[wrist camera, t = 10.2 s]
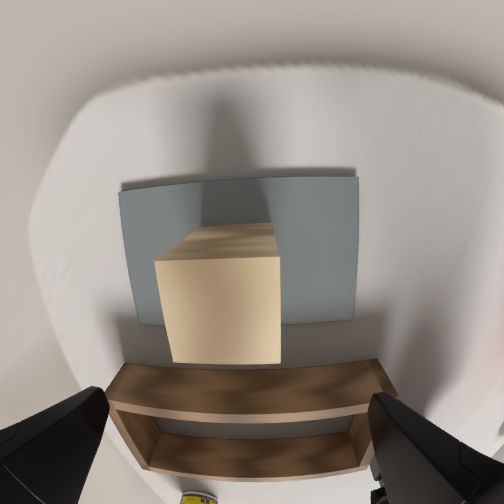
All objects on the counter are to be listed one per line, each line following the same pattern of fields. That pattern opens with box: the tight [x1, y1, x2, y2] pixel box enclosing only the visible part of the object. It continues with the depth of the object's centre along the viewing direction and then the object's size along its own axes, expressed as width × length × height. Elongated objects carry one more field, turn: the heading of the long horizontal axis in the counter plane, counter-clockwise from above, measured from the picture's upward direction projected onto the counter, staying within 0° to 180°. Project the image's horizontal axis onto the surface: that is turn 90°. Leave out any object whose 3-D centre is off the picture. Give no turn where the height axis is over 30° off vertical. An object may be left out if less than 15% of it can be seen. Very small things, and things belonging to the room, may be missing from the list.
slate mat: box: [118, 177, 359, 325], centre depth 18 cm, size 16×10×1 cm, turn 93°
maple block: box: [154, 223, 281, 364], centre depth 14 cm, size 4×4×8 cm
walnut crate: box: [104, 359, 399, 482], centre depth 19 cm, size 22×11×5 cm, turn 93°
